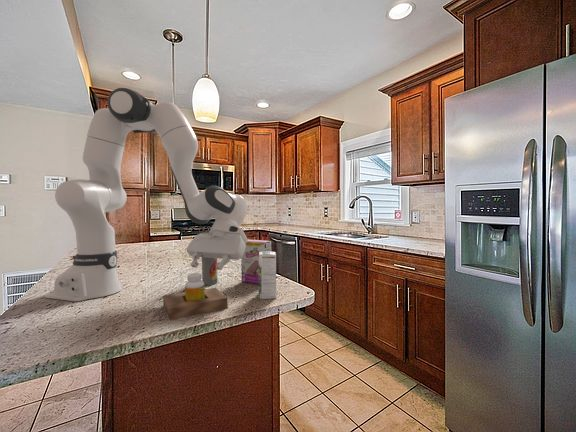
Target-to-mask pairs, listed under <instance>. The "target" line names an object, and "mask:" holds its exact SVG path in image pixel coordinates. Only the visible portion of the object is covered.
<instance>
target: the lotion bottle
mask: <svg viewBox="0 0 576 432" xmlns="http://www.w3.org/2000/svg"><path fill="white" fill-rule="evenodd" d="M204 233H209V231H205V232H204ZM217 263H218V258H206V257H201V275H202V279H201V281H203V282H204V286H212V285H216V284H217V283H218V270H217V268H216V265H217Z"/></svg>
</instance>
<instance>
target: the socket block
mask: <svg viewBox="0 0 576 432" xmlns="http://www.w3.org/2000/svg"><path fill="white" fill-rule="evenodd" d="M204 293H205V299H201V300H195V301H190V302H186V296H185V292H180V293H175V294H174V293H173V294H168V295H163V296H162V301H163V302H162V304H163V305H162V306H163V308H164V310H165V313H166V316H167V319H168V320H175V319H179V318H184V317H189V316H194V315H201V314H203V313H209V312H214V311H215V312H216V311H219V310H224V309H228V305H229V304H228V301H229V300H228V297H227V296H226V295H225V294H224V293H222V292H221V291H220V290H219V289H218V288H217V287H212V288H211V287H210V288H206V289H205V288H204Z"/></svg>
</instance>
